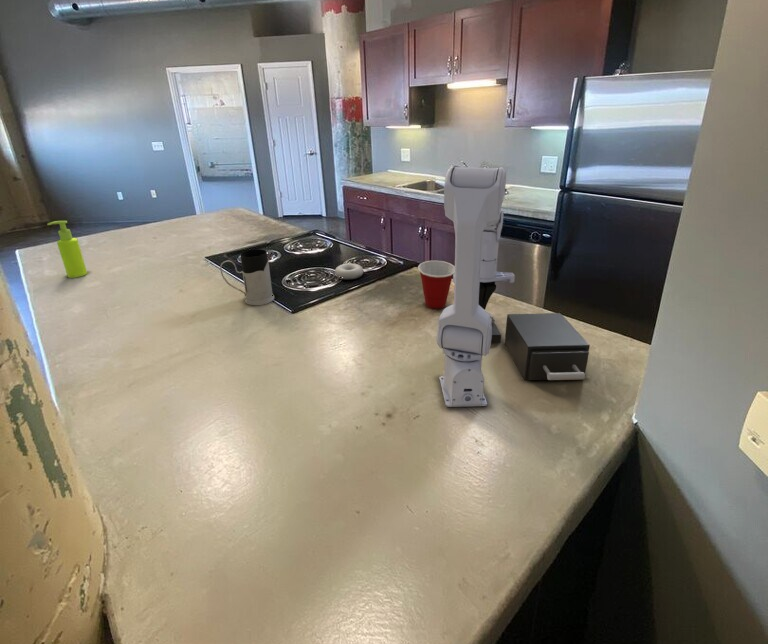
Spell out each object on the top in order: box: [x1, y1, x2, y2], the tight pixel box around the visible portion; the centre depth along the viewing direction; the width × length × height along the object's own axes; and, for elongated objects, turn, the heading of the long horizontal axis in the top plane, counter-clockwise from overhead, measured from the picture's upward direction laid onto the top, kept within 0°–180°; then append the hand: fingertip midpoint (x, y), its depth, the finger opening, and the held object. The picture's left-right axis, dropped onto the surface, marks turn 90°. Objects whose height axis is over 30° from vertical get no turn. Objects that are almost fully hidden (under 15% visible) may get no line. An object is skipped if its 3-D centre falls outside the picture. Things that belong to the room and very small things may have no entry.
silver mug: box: [219, 248, 276, 306], centre depth 125 cm, size 9×14×15 cm, turn 112°
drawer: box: [528, 349, 590, 381], centre depth 89 cm, size 18×11×6 cm, turn 1°
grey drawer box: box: [504, 312, 591, 381], centre depth 93 cm, size 15×13×8 cm
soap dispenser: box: [47, 220, 88, 279], centre depth 148 cm, size 6×7×20 cm
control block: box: [491, 316, 502, 344], centre depth 105 cm, size 10×8×4 cm
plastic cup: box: [417, 260, 455, 310], centre depth 120 cm, size 11×11×12 cm
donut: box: [334, 262, 364, 281], centre depth 145 cm, size 10×4×10 cm
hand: (481, 309), depth 104 cm, fingers closed
